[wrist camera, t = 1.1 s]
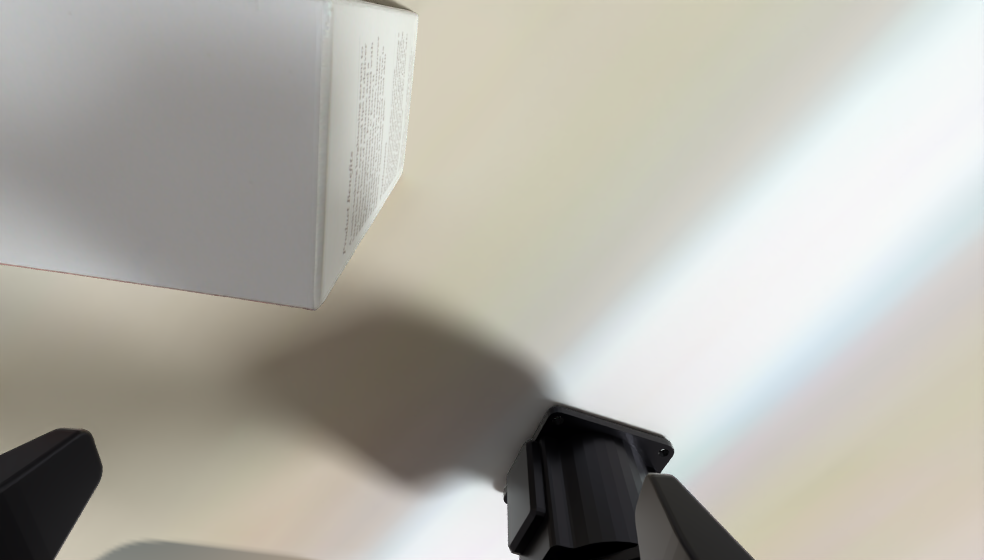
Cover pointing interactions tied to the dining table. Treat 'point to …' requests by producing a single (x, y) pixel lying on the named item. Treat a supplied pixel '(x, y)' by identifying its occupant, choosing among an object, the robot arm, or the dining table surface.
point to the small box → (200, 139)
